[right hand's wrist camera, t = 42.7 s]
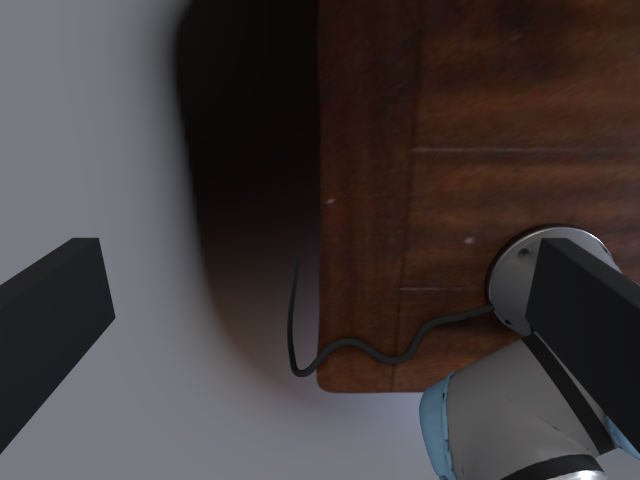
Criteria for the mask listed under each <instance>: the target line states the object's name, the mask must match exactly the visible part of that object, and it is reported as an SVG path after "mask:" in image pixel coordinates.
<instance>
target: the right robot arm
mask: <svg viewBox="0 0 640 480" xmlns="http://www.w3.org/2000/svg"><path fill="white" fill-rule="evenodd" d="M299 265H300V256H299V255H297V256H296V264H295V271H294V277H293V284H292V289H291V296H290V302H289V310H288V321H287V343H288V352H289V359H290V367H291V370H292V372H293V373H294V374H295V375H296V376H298V377H306V376H308V375H310V374H311V373H312V372H314V370H315V369H316V368H317V367H318V366H319V365H320V363H321V362H322V361H323V360H324V358H325V357H326V356H327V355H328V354H329V353H330V352H331V351H332V350H334V349H335V348H337V347H339V346H343V345H354V346H357V347H359V348H361V349H363V350H365V351H366V352H368V353H369V354H370V355H372V356H373V357H375V358H376V359H378V360H380V361H382V362H385V363H388V364H397V363H402V362H404V361H406V360H408V359H409V358H410V357H411V356H412V355H413V354H414V352H415V351H416V349H417V347H418V345H419V343H420V341H421V339H422V337H423V336H424V334H425V333H426V332H427V331H428V330H430V329H431V328H433V327H435V326H437V325H440V324H444V323H449V322H455V321H460V320H464V319H467V318H471V317H475V316H478V315H481V314H485V313H488V312H492V311H494V313H495V314H496V315H497V317H498V318H499V319H500V320H501V321H502V322H503V323H504V324H505V325H506V326H508V327H509V328H511V329H512V330H514V331H516V332H518V333H519V334H521V335H523V336H525V337H524V338H522V339H519V340H517V341H515V342H514V343H512V344H510V345H508V346H506V347H504V348H502V349H500V350H498V351H496V352H494V353H492V354H490V355H488V356H486V357H484V358H482V359H480V360H478V361H476V362H474V363H472V364H470V365H468V366H466V367H464V368H462V369H460V370H458V371H453V372H451V373H450V374H448V376H447V377H446V378H445V379H443V380H441V381H440V382H438V383H436V384H434V385H433V386H431V387H429V388H428V389H427V390H426V391H425V392H424V393H423V396H422V398H421V402H420V406H419V416H420V424H421V430H422V434H423V438H424V442H425V446H426V449H427V452H428V455H429V458H430V461H431V464H432V466H433V469H434V471H435V473H436V475H438V476H439V478H440V480H608V477H607V476H606V474H605V473H604V471H603V470H602V469H601V467H600V466H599V464H598V463H597V461H596V460H595V458H596V457H597V456H600V455H602V454H604V453H607V452H609V451H611V450H613V449H616V448H618V447H619V448H620V449H622V450H624V451H625V452H626V453H628V454H630V455H632V456H633V457H635V458H637V459H639V460H640V285H639V284H637V283H636V282H634V281H633V280H631V279H629V278H628V277H626V276H625V275H623V274H622V272H621V271H620V269H619V268H618V267H617V266H616V265H615V264H614V261H613V258H612V256H611V254H610V253H609V251H608V250H607V248H606V247H605V246H604V245H603V244H602V242H601V241H600V240H598V239H597V238H596V237H594V236H593V235H591V234H590V233H588V232H586V231H584V230H582V229H580V228H578V227H575V226H572V225H567V224H546V225H541V226H537V227H534V228H531V229H529V230H526V231H524V232H522V233H520V234H519V235H517V236H515V237H514V238H513V239H511V240H510V241H509V242H508V243H506V244H505V245H504V246H503V247H502V248H501V249H500V251H499V252H498V253H497V254H496V256H495V257H494V259H493V261H492V262H491V264H490V267H489V269H488V272H487V276H486V282H485V291H486V297H487V300H488V303H489V304H488V305H485V306H481V307H478V308H475V309H471V310H468V311H464V312H461V313H457V314H452V315H446V316H441V317H437V318H434V319H432V320H430V321H428V322H426V323H425V324H424V325H423V326H422V327H421V328H420V329H419V330H418V332H417V333H416V335H415V337H414V339H413V341H412V343H411V345H410V347H409V349H408V350H407V351H406V352H405V353H404V354H402V355H400V356H395V357H389V356H385V355H383V354H381V353H380V352H378V351H377V350H375V349H374V348H372V347H371V346H369V345H368V344H366V343H365V342H363V341H361V340H358V339H355V338H341V339H338V340H335V341H333V342H332V343H330V344H329V345H327V346H326V347H325V348H324V349H323V350H322V351H321V352H320V354H319V355H318V356H317V357H316V359H315V360H314V361H313V362H312V364H311V365H310V366H309V367H308V368H306V369H304V370H299V369H298V367H297V364H296V357H295V351H294V345H293V312H294V302H295V295H296V288H297V281H298V274H299ZM114 319H115V313H114V308H113V304H112V299H111V294H110V289H109V284H108V280H107V275H106V270H105V266H104V261H103V256H102V251H101V247H100V242H99V238H72V239H70V240H69V241H67V242H66V243H64V244H63V245H61V246H60V247H58V248H57V249H55V250H53V251H52V252H50V253H49V254H47V255H46V256H44V257H43V258H41V259H40V260H38V261H37V262H35V263H34V264H32V265H31V266H29V267H28V268H26V269H25V270H23V271H21V272H20V273H18V274H17V275H15V276H14V277H12V278H11V279H9V280H8V281H6V282H5V283H3V284H2V285H0V454H1V453H2V452H3V450H4V449H5V448H6V447H7V446H8V445H9V443H10V442H11V441H12V440H13V439H14V437H15V436H16V435H17V434H18V433H19V431H20V430H21V429H22V428H23V427H24V426H25V424H26V423H27V422H28V421H29V420H30V419H31V417H32V416H33V415H34V414H35V413H36V411H37V410H38V409H39V408H40V407H41V405H42V404H43V403H44V402H45V401H46V400H47V398H48V397H49V396H50V395H51V394H52V392H53V391H54V390H55V389H56V388H57V387H58V385H59V384H60V383H61V382H62V381H63V379H64V378H65V377H66V376H67V375H68V374H69V372H70V371H71V370H72V369H73V368H74V366H75V365H76V364H77V363H78V362H79V361H80V359H81V358H82V357H83V356H84V355H85V353H86V352H87V351H88V350H89V349H90V348H91V346H92V345H93V344H94V343H95V342H96V340H97V339H98V338H99V337H100V336H101V335H102V333H103V332H104V331H105V330H106V329H107V327H108V326H109V325H110V324H111V323H112V321H113V320H114Z"/></svg>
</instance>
